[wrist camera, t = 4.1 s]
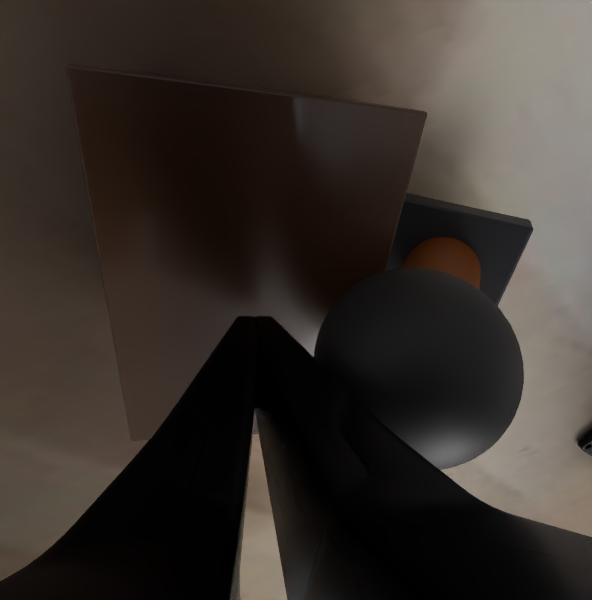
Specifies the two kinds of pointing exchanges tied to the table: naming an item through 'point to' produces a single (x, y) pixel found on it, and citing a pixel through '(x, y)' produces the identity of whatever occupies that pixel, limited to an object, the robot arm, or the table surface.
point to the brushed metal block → (229, 214)
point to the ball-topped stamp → (434, 331)
